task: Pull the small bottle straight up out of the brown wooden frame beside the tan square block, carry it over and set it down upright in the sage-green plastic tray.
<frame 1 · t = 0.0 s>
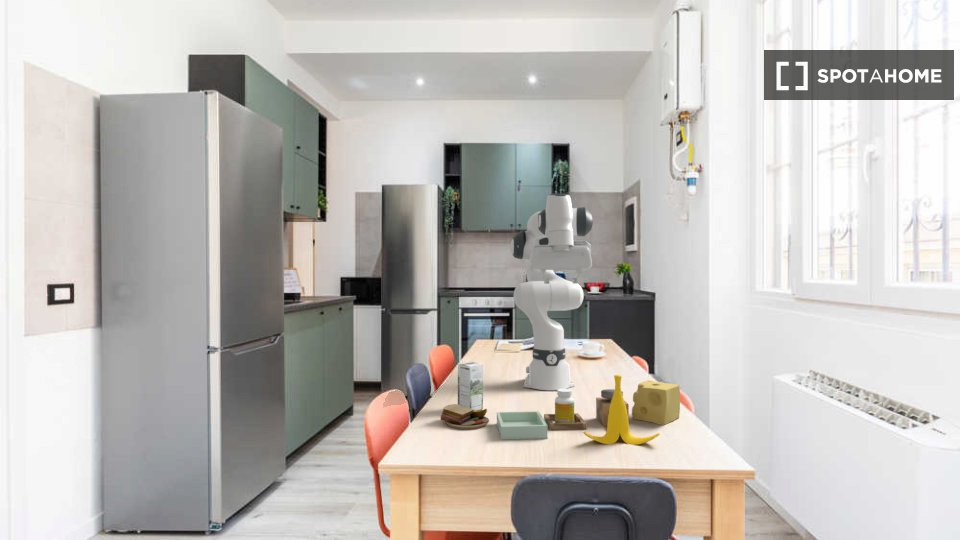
hand: (561, 283, 176), 39 cm above the table, tool pointing down, fingers open, 8 cm apart
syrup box: (470, 410, 168), on the table
supplement bottle: (564, 425, 153), resting in brown wooden frame
cheese: (656, 419, 158), on the table
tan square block: (612, 421, 155), on the table
toy sandwich meal: (465, 425, 154), on the table
tray: (520, 430, 147), on the table
brown wooden frame: (564, 424, 153), on the table
banana peel: (627, 442, 138), on the table
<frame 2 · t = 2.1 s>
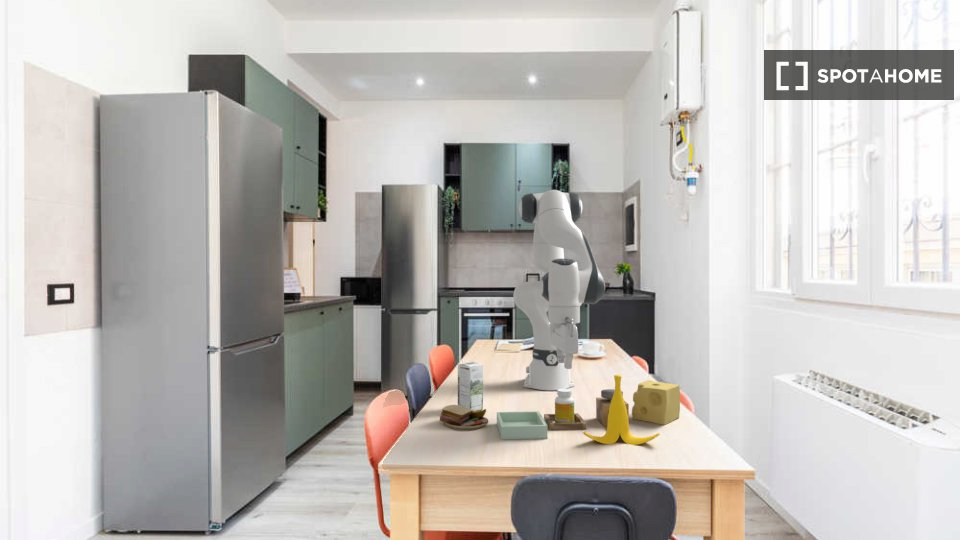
hand: (564, 365, 152), 17 cm above the table, tool pointing down, fingers open, 8 cm apart
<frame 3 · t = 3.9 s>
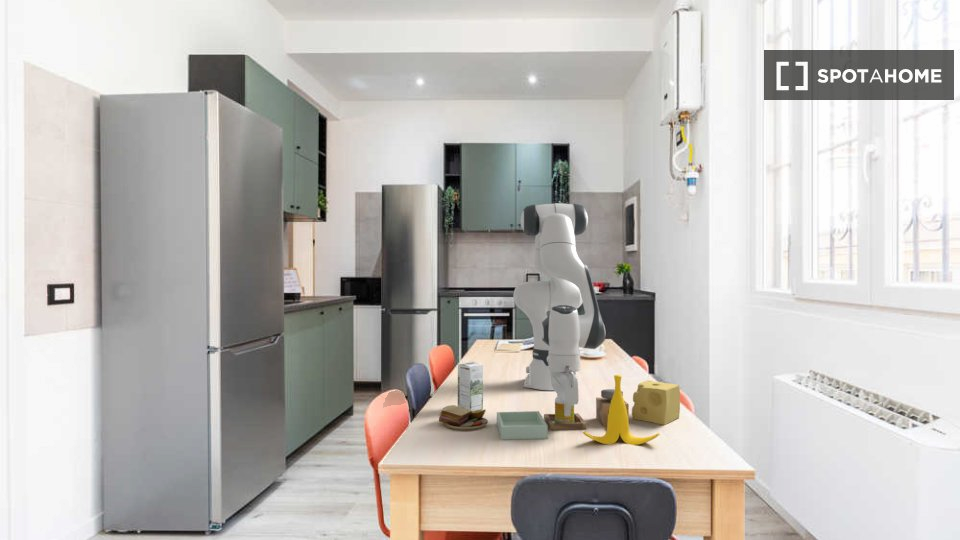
hand: (564, 412, 153), 3 cm above the table, tool pointing down, fingers closed on supplement bottle, 5 cm apart
supplement bottle: (564, 425, 153), resting in brown wooden frame, touching gripper
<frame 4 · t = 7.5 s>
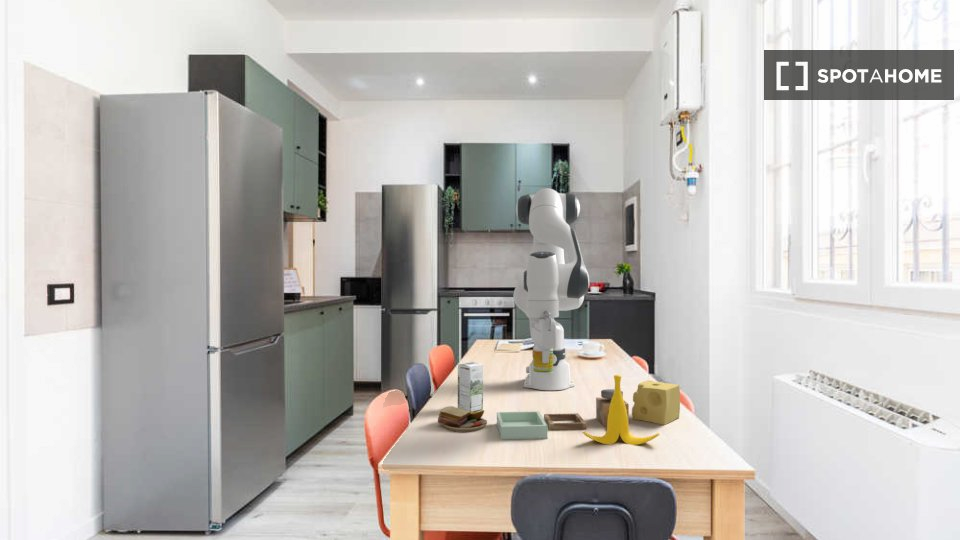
hand: (543, 360, 149), 19 cm above the table, tool pointing down, fingers closed on supplement bottle, 5 cm apart
supplement bottle: (543, 373, 149), point 15 cm above the table, touching gripper
toy sandwich meal: (462, 427, 152), on the table
everything else where it was.
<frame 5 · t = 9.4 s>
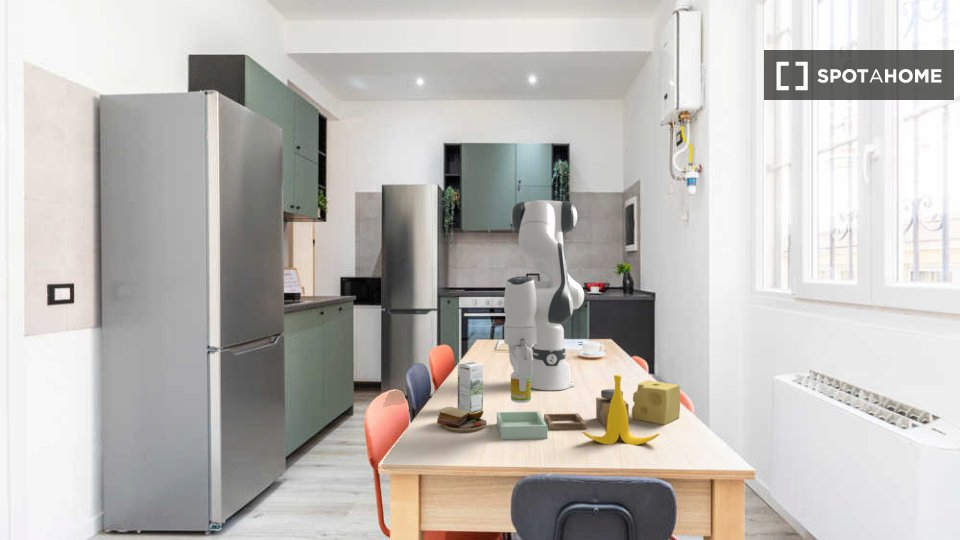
hand: (520, 387, 147), 12 cm above the table, tool pointing down, fingers closed on supplement bottle, 5 cm apart
supplement bottle: (520, 401, 147), point 8 cm above the table, touching gripper
when the fingers open (4 cm above the table, at t = 11.1 s): supplement bottle stays where it is, resting on tray.
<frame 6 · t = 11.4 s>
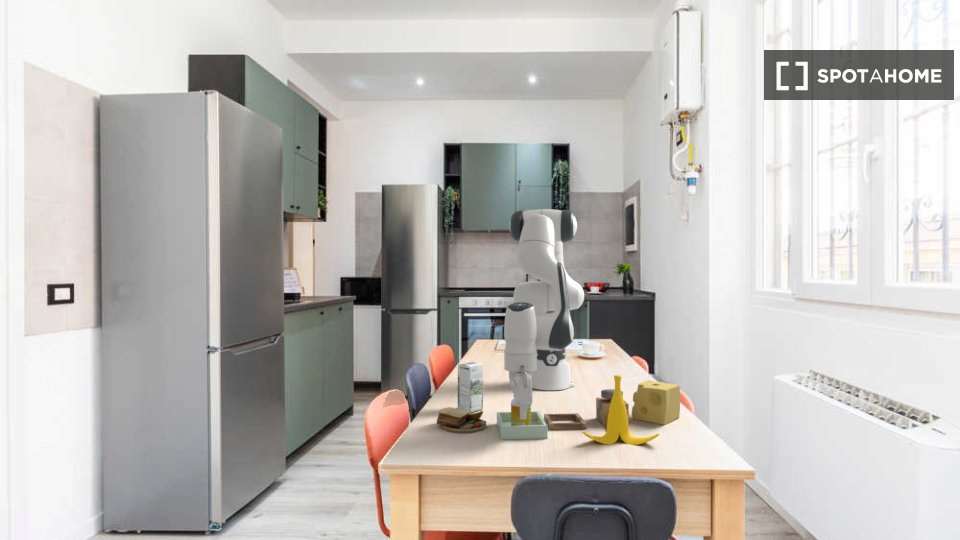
hand: (520, 413, 147), 5 cm above the table, tool pointing down, fingers open, 8 cm apart
supplement bottle: (521, 428, 147), point 1 cm above the table, touching tray
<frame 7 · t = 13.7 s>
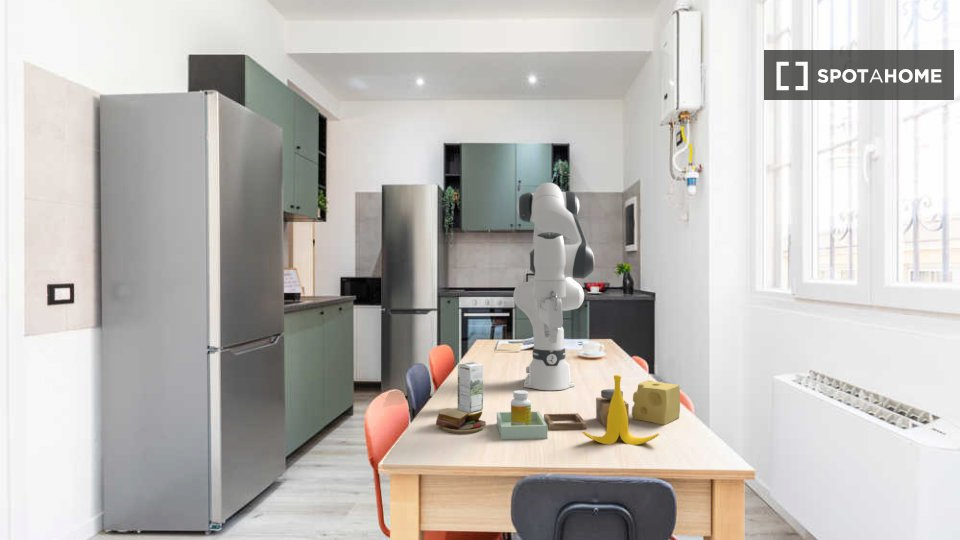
hand: (550, 340, 151), 24 cm above the table, tool pointing down, fingers open, 8 cm apart
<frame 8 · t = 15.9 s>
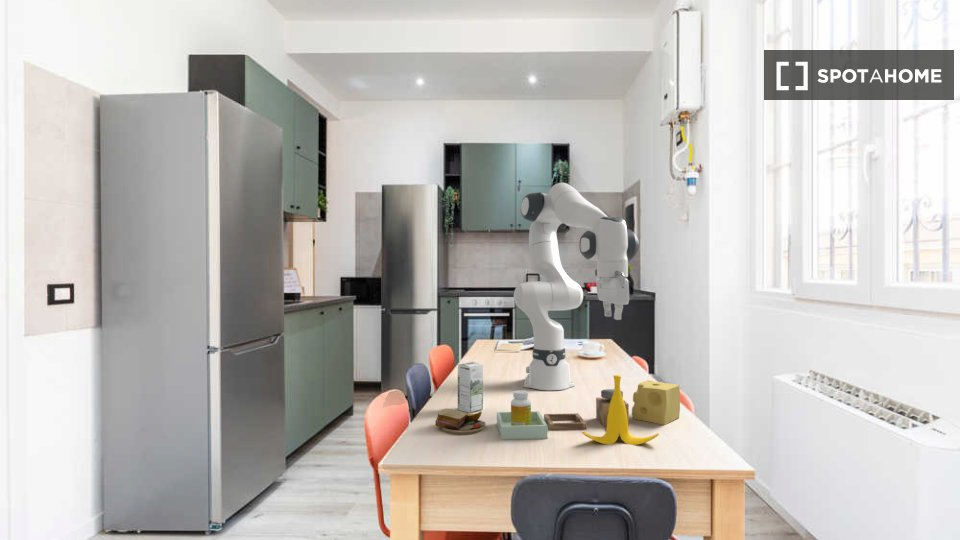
hand: (612, 318, 160), 29 cm above the table, tool pointing down, fingers open, 8 cm apart
at the end: supplement bottle inside the target area on the tray (0.3 cm from its centre), point 0.6 cm above the tray's base; supplement bottle tilted 0°; the gripper is holding nothing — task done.
